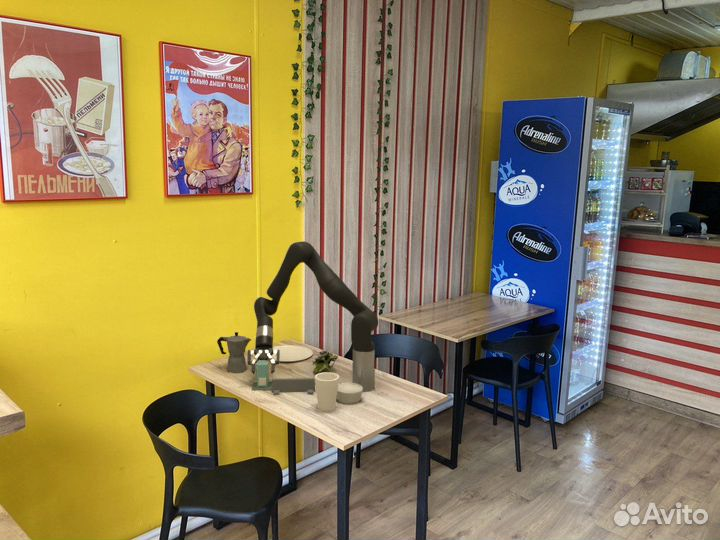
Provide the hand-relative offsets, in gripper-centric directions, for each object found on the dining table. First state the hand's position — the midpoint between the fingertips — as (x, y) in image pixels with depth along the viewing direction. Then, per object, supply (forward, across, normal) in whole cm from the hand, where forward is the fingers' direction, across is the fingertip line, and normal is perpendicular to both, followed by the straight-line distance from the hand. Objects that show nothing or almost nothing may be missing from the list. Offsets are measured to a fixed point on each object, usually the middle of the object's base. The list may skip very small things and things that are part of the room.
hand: (262, 373), depth 237 cm
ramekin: (+15, +35, -5) cm, 39 cm away
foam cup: (+20, +26, -11) cm, 35 cm away
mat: (+4, 0, +6) cm, 7 cm away
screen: (+9, +13, 0) cm, 16 cm away
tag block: (+3, 0, +6) cm, 6 cm away
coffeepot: (-11, -14, +21) cm, 28 cm away
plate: (-25, +10, +35) cm, 44 cm away
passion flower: (-9, +28, +18) cm, 34 cm away
